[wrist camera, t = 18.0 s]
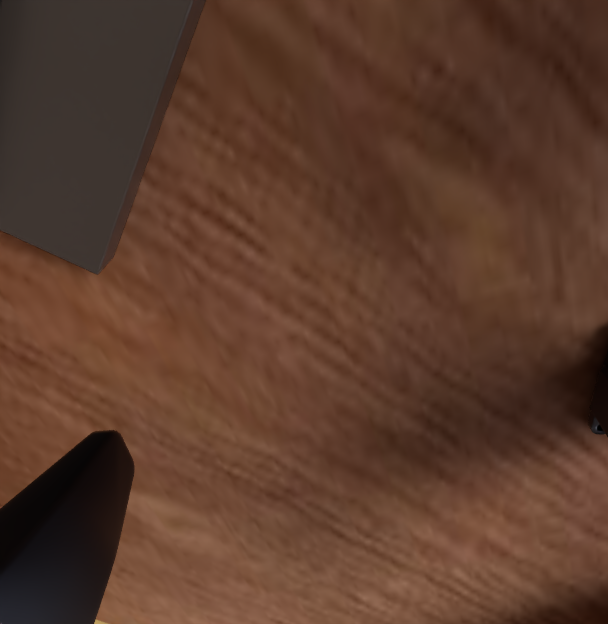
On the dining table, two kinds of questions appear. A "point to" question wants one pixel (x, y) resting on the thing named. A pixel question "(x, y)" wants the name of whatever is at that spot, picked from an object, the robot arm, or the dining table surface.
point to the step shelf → (83, 115)
